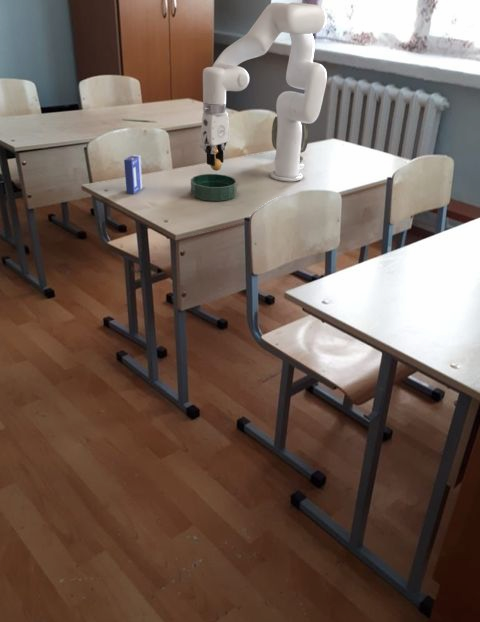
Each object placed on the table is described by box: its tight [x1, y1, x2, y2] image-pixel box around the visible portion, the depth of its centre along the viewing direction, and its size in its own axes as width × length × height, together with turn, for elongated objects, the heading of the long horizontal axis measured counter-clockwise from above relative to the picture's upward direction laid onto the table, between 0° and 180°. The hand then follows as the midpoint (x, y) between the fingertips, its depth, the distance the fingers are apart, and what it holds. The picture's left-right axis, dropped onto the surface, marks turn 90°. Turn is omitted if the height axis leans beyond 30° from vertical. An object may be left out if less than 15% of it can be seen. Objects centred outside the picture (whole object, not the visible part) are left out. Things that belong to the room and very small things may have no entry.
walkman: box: [123, 154, 143, 195], centre depth 209 cm, size 8×3×12 cm, turn 167°
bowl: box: [190, 173, 238, 202], centre depth 212 cm, size 16×16×5 cm
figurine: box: [207, 141, 223, 171], centre depth 206 cm, size 8×6×12 cm
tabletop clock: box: [271, 115, 310, 161], centre depth 253 cm, size 14×9×25 cm, turn 102°
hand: (215, 163), depth 208 cm, fingers closed on figurine, 4 cm apart
